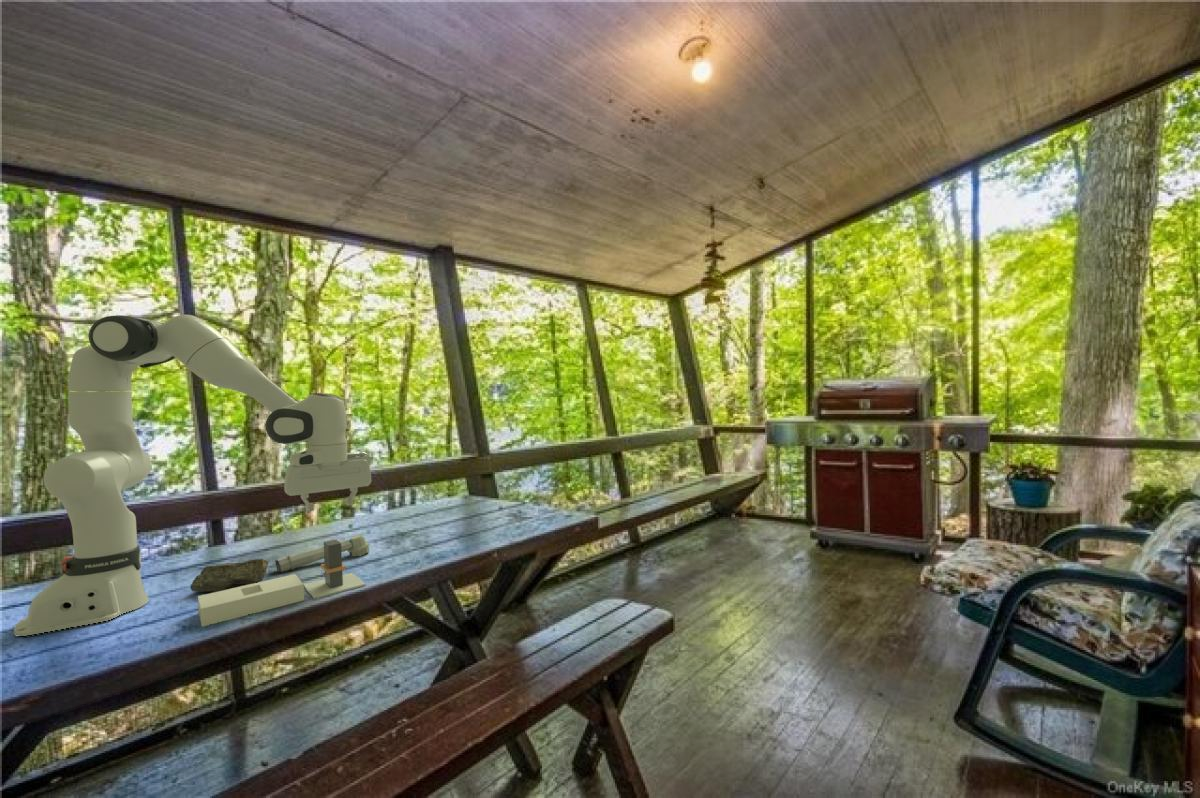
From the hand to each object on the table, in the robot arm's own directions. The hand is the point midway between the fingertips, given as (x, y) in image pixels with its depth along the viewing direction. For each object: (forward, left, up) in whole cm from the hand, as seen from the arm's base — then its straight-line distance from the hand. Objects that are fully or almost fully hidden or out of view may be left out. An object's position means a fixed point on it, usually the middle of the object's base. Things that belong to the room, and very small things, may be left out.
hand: (330, 507), depth 136 cm
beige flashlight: (+4, +24, -21) cm, 32 cm away
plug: (0, 0, -20) cm, 20 cm away
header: (-18, 0, -21) cm, 27 cm away
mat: (0, 0, -21) cm, 21 cm away
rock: (-20, +21, -21) cm, 36 cm away
